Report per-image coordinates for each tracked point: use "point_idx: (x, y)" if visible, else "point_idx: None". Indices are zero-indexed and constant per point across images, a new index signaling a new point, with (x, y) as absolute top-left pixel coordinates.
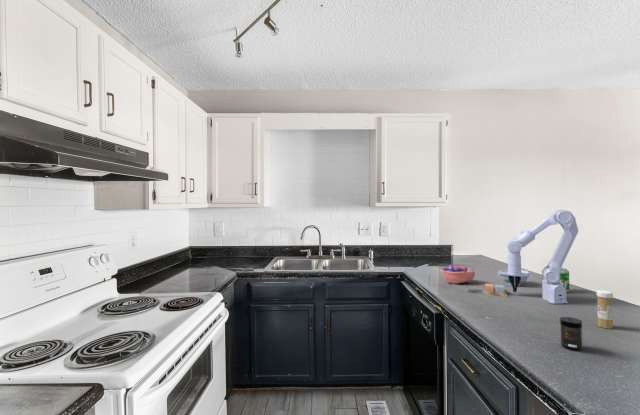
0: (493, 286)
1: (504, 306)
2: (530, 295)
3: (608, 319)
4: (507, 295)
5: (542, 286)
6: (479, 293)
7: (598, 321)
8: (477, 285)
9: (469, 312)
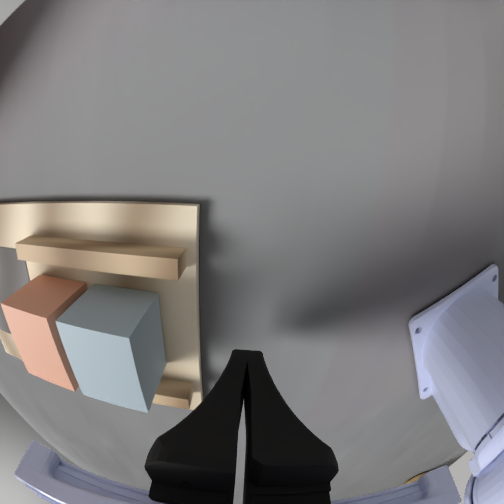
0: (72, 387)
1: None
2: (388, 244)
3: None
4: (190, 402)
5: (464, 409)
6: None
7: None
8: (6, 71)
9: None
